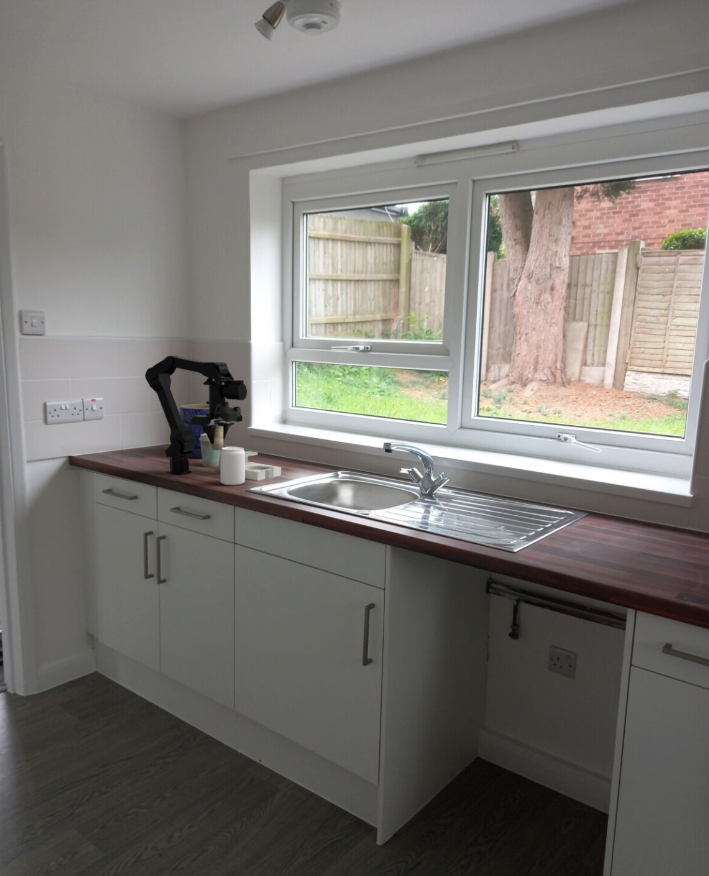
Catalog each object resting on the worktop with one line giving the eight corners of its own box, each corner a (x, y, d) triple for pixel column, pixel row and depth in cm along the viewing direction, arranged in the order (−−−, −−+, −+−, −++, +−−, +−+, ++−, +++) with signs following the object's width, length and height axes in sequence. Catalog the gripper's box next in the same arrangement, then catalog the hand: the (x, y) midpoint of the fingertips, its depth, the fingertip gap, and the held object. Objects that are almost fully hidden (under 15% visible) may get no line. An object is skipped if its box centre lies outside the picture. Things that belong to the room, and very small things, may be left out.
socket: (225, 474, 245) (225, 466, 244) (248, 469, 254) (248, 461, 254) (259, 480, 235) (259, 472, 235) (282, 475, 245) (282, 467, 244)
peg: (209, 449, 237) (209, 426, 236) (218, 447, 241) (217, 425, 239) (216, 450, 235) (216, 427, 234) (225, 449, 238) (225, 426, 237)
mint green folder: (225, 472, 247) (225, 453, 246) (244, 468, 255) (244, 450, 254) (238, 475, 244) (238, 455, 243) (257, 471, 252) (257, 452, 251)
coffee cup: (198, 463, 263) (198, 433, 261) (221, 463, 265) (221, 432, 264) (200, 468, 255) (199, 436, 253) (223, 467, 257) (223, 435, 256)
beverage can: (239, 486, 225) (239, 450, 223) (216, 485, 227) (216, 449, 225) (248, 481, 233) (248, 447, 231) (226, 480, 235) (226, 445, 233)
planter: (174, 453, 284) (174, 404, 281) (218, 451, 292) (218, 403, 289) (185, 461, 268) (184, 409, 265) (230, 458, 276) (230, 407, 273)
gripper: (211, 401, 223) (211, 449, 225) (253, 398, 238) (253, 443, 240) (189, 399, 230) (190, 445, 232) (231, 396, 245) (231, 439, 247)
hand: (217, 443), depth 238 cm, fingers closed on peg, 4 cm apart
